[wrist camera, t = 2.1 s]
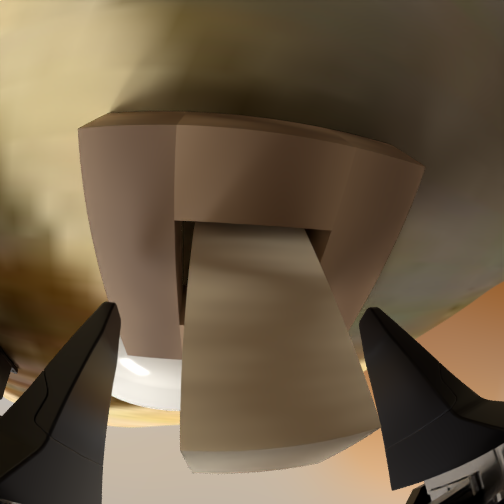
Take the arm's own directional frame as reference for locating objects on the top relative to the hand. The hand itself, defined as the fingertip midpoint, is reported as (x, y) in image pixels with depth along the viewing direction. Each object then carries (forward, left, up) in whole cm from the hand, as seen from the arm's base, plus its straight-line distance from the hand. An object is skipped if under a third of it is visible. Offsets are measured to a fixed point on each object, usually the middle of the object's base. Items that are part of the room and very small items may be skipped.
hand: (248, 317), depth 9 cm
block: (0, 0, -4) cm, 4 cm away
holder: (0, 0, -4) cm, 4 cm away
